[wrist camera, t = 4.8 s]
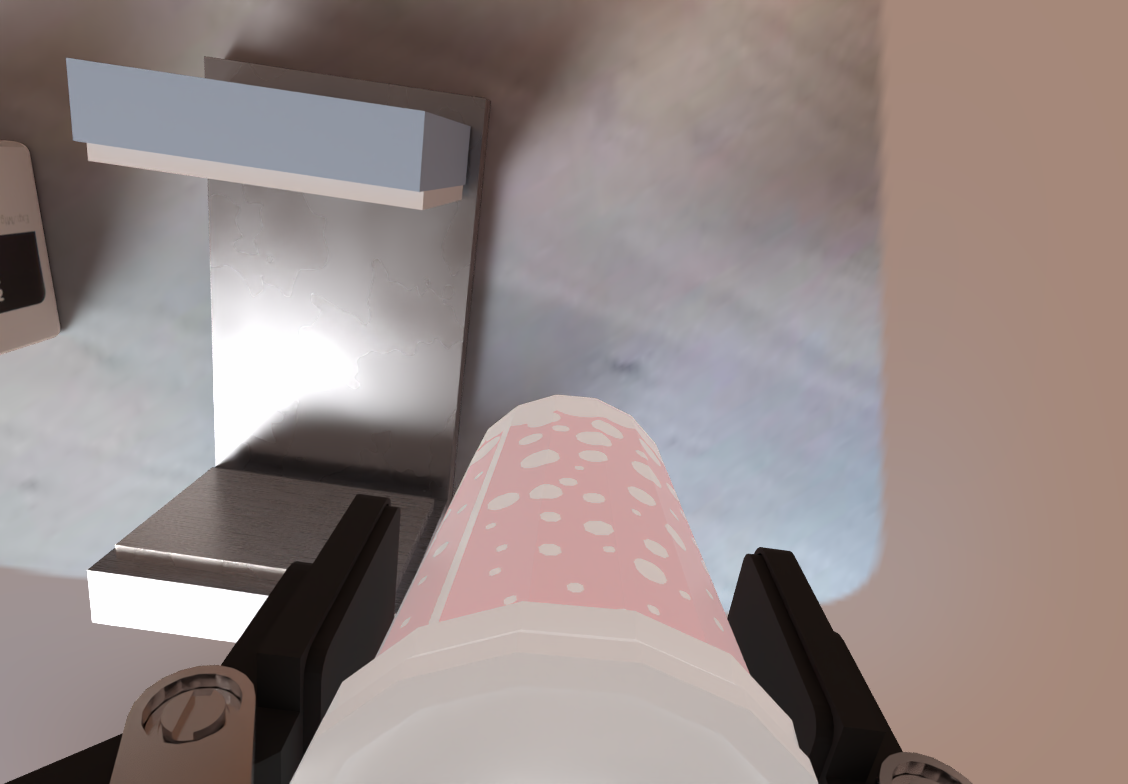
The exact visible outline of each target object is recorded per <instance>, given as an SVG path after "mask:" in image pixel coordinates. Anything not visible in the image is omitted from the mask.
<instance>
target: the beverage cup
mask: <svg viewBox="0 0 1128 784" xmlns="http://www.w3.org/2000/svg"><path fill="white" fill-rule="evenodd" d="M290 784H818V781H817V778H816V776H815V773H814V770H813V768H812V765H811V762H810V760H809V758H808V757H807V756H806V755H805V754H804V753H803V751H802V750H801V749H800V748H799V745H798V742H797V738H796V734H795V730H794V726H793V722H792V720H791V719H790V718H789V716H788V715H787V714H786V713H785V712H784V711H783V710H782V709H781V708H780V707H779V706H778V705H777V704H776V702H775V701H774V700H773V699H772V698H771V697H770V696H769V695H768V694H767V693H766V692H765V691H764V689H763V688H762V687H761V686H760V685H759V684H758V683H757V682H756V681H755V680H754V679H753V678H752V677H751V675H750V673H749V671H748V668H747V666H746V663H745V661H744V659H743V656H742V654H741V651H740V649H739V646H738V644H737V642H736V639H735V637H734V634H733V632H732V629H731V627H730V624H729V622H728V620H727V617H726V615H725V612H724V610H723V607H722V605H721V602H720V600H719V598H718V595H717V593H716V590H715V588H714V585H713V583H712V580H711V578H710V576H709V573H708V571H707V568H706V566H705V563H704V561H703V558H702V556H701V554H700V551H699V549H698V546H697V544H696V541H695V539H694V536H693V534H692V532H691V529H690V527H689V524H688V522H687V519H686V517H685V514H684V512H683V510H682V507H681V505H680V502H679V500H678V497H677V495H676V492H675V490H674V488H673V485H672V483H671V480H670V478H669V475H668V473H667V470H666V468H665V466H664V463H663V461H662V458H661V456H660V453H659V451H658V448H657V446H656V444H655V443H654V441H653V440H652V439H651V438H650V437H649V436H648V435H647V433H646V432H645V431H644V430H643V429H642V428H641V426H640V425H639V424H638V423H637V422H636V421H635V419H634V418H633V417H632V416H631V415H629V414H627V413H625V412H623V411H621V410H619V409H617V408H615V407H613V406H611V405H609V404H607V403H605V402H603V401H601V400H599V399H597V398H588V397H577V396H566V395H553V396H550V397H546V398H543V399H539V400H536V401H532V402H529V403H525V404H522V405H518V406H517V407H515V408H514V409H513V410H512V411H510V412H509V413H508V414H507V415H505V416H504V417H503V418H502V419H500V420H499V421H498V422H496V423H495V424H494V425H493V426H491V427H490V428H489V429H488V430H487V432H486V434H485V436H484V438H483V440H482V442H481V444H480V446H479V447H478V449H477V451H476V453H475V455H474V457H473V459H472V461H471V463H470V465H469V467H468V469H467V471H466V473H465V475H464V477H463V479H462V481H461V483H460V485H459V487H458V489H457V491H456V493H455V495H454V498H453V500H452V502H451V504H450V506H449V508H448V510H447V512H446V514H445V516H444V518H443V520H442V522H441V524H440V526H439V528H438V530H437V532H436V534H435V536H434V538H433V540H432V542H431V544H430V547H429V549H428V551H427V553H426V555H425V557H424V559H423V561H422V563H421V565H420V567H419V569H418V571H417V573H416V575H415V577H414V579H413V581H412V583H411V585H410V587H409V589H408V591H407V593H406V596H405V598H404V600H403V602H402V604H401V606H400V608H399V610H398V612H397V614H396V616H395V618H394V620H393V622H392V624H391V626H390V628H389V630H388V632H387V634H386V636H385V638H384V640H383V642H382V645H381V647H380V649H379V651H378V653H377V655H376V657H375V659H373V660H372V661H371V662H369V663H368V664H367V665H365V666H364V667H362V668H361V669H360V670H358V671H357V672H355V673H354V674H353V675H351V676H350V677H348V678H347V679H346V680H344V681H343V682H342V684H341V685H340V687H339V689H338V691H337V693H336V695H335V697H334V699H333V701H332V703H331V705H330V707H329V709H328V711H327V713H326V714H325V716H324V718H323V720H322V722H321V724H320V726H319V727H318V729H317V731H316V733H315V735H314V737H313V739H312V741H311V743H310V745H309V747H308V749H307V751H306V753H305V755H304V756H303V758H302V760H301V762H300V764H299V766H298V768H297V770H296V772H295V774H294V776H293V778H292V780H291V782H290Z"/></svg>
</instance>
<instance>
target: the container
mask: <svg viewBox="0 0 1128 784" xmlns="http://www.w3.org/2000/svg"><path fill="white" fill-rule="evenodd" d="M60 329H61V328H60V322H59V317H58V311H57V305H56V300H55V294H54V288H53V282H52V277H51V271H50V265H49V260H48V254H47V248H46V243H45V237H44V231H43V226H42V220H41V214H40V208H39V203H38V197H37V191H36V186H35V180H34V174H33V169H32V163H31V157H30V152H29V150H28V148H27V147H26V146H25V145H24V144H22V143H19V142H16V141H7V140H0V355H1V354H4V353H8V352H11V351H14V350H17V349H20V348H23V347H26V346H29V345H33V344H36V343H39V342H42V341H45V340H48V339H51V338H54V337H56V336H57V335H58V334H59V333H60Z"/></svg>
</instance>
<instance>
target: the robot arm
mask: <svg viewBox="0 0 1128 784" xmlns="http://www.w3.org/2000/svg"><path fill="white" fill-rule="evenodd" d="M400 518H401V510H400V507H393V506H391V501H390V498H388V497H380V496H373V495H365V494H357V495H356V496H355V498H354V499H353V501H352V502H351V504H350V505H349V507H348V509H347V510H346V512H345V513H344V515H343V517H342V518H341V520H340V521H339V523H338V524H337V526H336V528H335V529H334V531H333V532H332V534H331V535H330V537H329V539H328V540H327V542H326V543H325V545H324V546H323V548H322V550H321V551H320V553H319V554H318V556H317V558H316V559H315V561H314V562H313V563H307V562H299V561H296V562H293V563H292V564H291V565H290V566H289V567H288V568H287V570H286V571H285V573H284V574H283V576H282V577H281V578H280V580H279V581H278V583H277V584H276V586H275V587H274V589H273V590H272V592H271V593H270V594H269V596H268V597H267V599H266V600H265V602H264V603H263V605H262V606H261V608H260V609H259V610H258V612H257V613H256V615H255V616H254V618H253V619H252V621H251V622H250V624H249V625H248V626H247V628H246V629H245V631H244V632H243V634H242V635H241V637H240V638H239V640H238V641H237V643H236V644H235V646H234V647H233V648H232V650H231V651H230V653H229V654H228V656H227V657H226V659H225V660H224V662H223V663H222V664H221V666H219V665H209V666H208V665H207V666H197V667H193V668H188V669H184V670H180V671H178V672H176V673H173V674H171V675H169V676H166V677H164V678H162V679H161V680H159V681H158V682H156V683H155V684H153V685H152V686H150V687H149V688H147V689H146V690H145V691H144V693H142V695H141V696H140V697H139V698H138V699H137V700H136V701H135V702H134V704H133V706H132V708H131V710H130V712H129V714H128V716H127V720H126V723H125V727H124V731H123V733H122V734H120V735H118V736H116V737H113V738H111V739H108V740H106V741H104V742H101V743H99V744H97V745H94V746H92V747H89V748H87V749H85V750H82V751H80V752H78V753H75V754H73V755H71V756H68V757H66V758H64V759H61V760H59V761H56V762H54V763H52V764H49V765H47V766H45V767H42V768H40V769H38V770H35V771H33V772H31V773H28V774H26V775H24V776H21V777H19V778H16V779H14V780H12V781H9V782H7V783H5V784H290V782H291V780H292V778H293V776H294V774H295V772H296V770H297V768H298V766H299V764H300V762H301V760H302V758H303V756H304V755H305V753H306V751H307V749H308V747H309V745H310V743H311V741H312V739H313V737H314V735H315V733H316V731H317V729H318V727H319V726H320V724H321V722H322V720H323V718H324V716H325V714H326V713H327V711H328V709H329V707H330V705H331V703H332V701H333V699H334V697H335V695H336V693H337V691H338V689H339V687H340V685H341V684H342V682H343V681H344V680H346V679H347V678H348V677H350V676H351V675H353V674H354V673H355V672H357V671H358V670H360V669H361V668H362V667H364V666H365V665H367V664H368V663H369V662H371V661H372V660H373V659H375V657H376V655H377V653H378V651H379V649H380V647H381V645H382V642H383V640H384V638H385V636H386V634H387V632H388V630H389V628H390V626H391V624H392V622H393V620H394V611H395V596H396V580H397V565H398V549H399V533H400ZM727 620H728V622H729V624H730V627H731V629H732V632H733V634H734V637H735V639H736V642H737V644H738V646H739V649H740V651H741V654H742V656H743V659H744V661H745V663H746V666H747V668H748V671H749V673H750V675H751V677H752V678H753V679H754V680H755V681H756V682H757V683H758V684H759V685H760V686H761V687H762V688H763V689H764V691H765V692H766V693H767V694H768V695H769V696H770V697H771V698H772V699H773V700H774V701H775V702H776V704H777V705H778V706H779V707H780V708H781V709H782V710H783V711H784V712H785V713H786V714H787V715H788V716H789V718H790V719H791V720H792V722H793V726H794V730H795V734H796V738H797V742H798V745H799V748H800V749H801V750H802V751H803V753H804V754H805V755H806V756H807V757H808V758H809V760H810V762H811V765H812V768H813V770H814V773H815V776H816V778H817V781H818V784H972V783H971V782H970V781H969V780H968V779H967V778H966V777H964V776H963V775H962V774H960V773H959V772H957V771H956V770H955V769H953V768H952V767H950V766H948V765H946V764H944V763H942V762H940V761H938V760H936V759H934V758H932V757H929V756H925V755H922V754H918V753H910V752H903V751H902V749H901V748H900V746H899V744H898V742H897V740H896V738H895V736H894V734H893V733H892V731H891V729H890V727H889V725H888V723H887V721H886V719H885V717H884V716H883V714H882V712H881V710H880V708H879V706H878V704H877V702H876V701H875V699H874V697H873V695H872V693H871V691H870V689H869V687H868V685H867V684H866V682H865V680H864V678H863V676H862V674H861V672H860V670H859V669H858V667H857V665H856V663H855V661H854V659H853V657H852V655H851V653H850V652H849V650H848V648H847V646H846V644H845V642H844V640H843V639H842V638H841V636H840V635H839V634H838V633H836V632H834V631H833V629H832V627H831V625H830V623H829V622H828V620H827V618H826V616H825V614H824V612H823V610H822V608H821V606H820V604H819V602H818V600H817V598H816V596H815V595H814V593H813V591H812V589H811V587H810V585H809V583H808V581H807V579H806V577H805V575H804V573H803V572H802V570H801V568H800V566H799V564H798V562H797V560H796V558H795V556H794V555H793V553H792V552H790V551H785V550H778V549H770V548H763V547H759V548H757V550H756V551H755V553H754V554H747V555H746V556H745V557H744V560H743V563H742V567H741V571H740V574H739V578H738V582H737V585H736V589H735V593H734V596H733V600H732V604H731V607H730V611H729V615H728V618H727Z"/></svg>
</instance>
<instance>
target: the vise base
mask: <svg viewBox="0 0 1128 784" xmlns="http://www.w3.org/2000/svg"><path fill="white" fill-rule="evenodd" d="M204 63H205V78H206V79H213V80H219V81H226V82H233V83H239V84H246V85H253V86H259V87H266V88H273V89H280V90H286V91H293V92H300V93H306V94H313V95H320V96H326V97H333V98H340V99H347V100H353V101H360V102H367V103H373V104H380V105H387V106H393V107H400V108H407V109H413V110H420V111H426V112H429V113H432V114H435V115H438V116H441V117H444V118H447V119H450V120H453V121H456V122H459V123H462V124H465V125H468V126H471V128H470V139H469V150H468V161H467V173H466V184H465V185H463V190H462V200H459V201H455V202H451V203H447V204H444V205H440V206H436V207H432V208H429V209H425V210H418V209H411V208H405V207H398V206H391V205H384V204H378V203H371V202H364V201H357V200H351V199H344V198H337V197H330V196H323V195H317V194H310V193H303V192H296V191H290V190H283V189H276V188H269V187H263V186H256V185H249V184H242V183H236V182H229V181H222V180H215V179H208V207H209V242H210V278H211V314H212V350H213V385H214V421H215V457H216V467H215V468H214V467H212V468H211V469H210V470H208V471H207V472H206V473H205V474H203V475H202V476H201V477H200V478H198V479H197V480H196V481H195V482H193V483H192V484H191V485H190V486H188V487H187V488H186V489H185V490H183V491H182V492H181V493H180V494H178V495H177V496H176V497H175V498H173V499H172V500H171V501H170V502H168V503H167V504H166V505H165V506H163V507H162V508H161V509H160V510H158V511H157V512H156V513H155V514H153V515H152V516H151V517H150V518H148V519H147V520H146V521H145V522H143V523H142V524H141V525H140V526H138V527H137V528H136V529H135V530H133V531H132V532H131V533H130V534H128V535H127V536H126V537H125V538H123V539H122V540H121V541H120V542H118V543H117V544H116V545H115V548H114V549H113V550H111V551H110V552H109V553H108V554H107V555H105V556H104V557H103V558H102V559H100V560H99V561H98V562H97V563H95V564H94V565H93V566H92V567H90V568H89V569H88V570H87V574H88V584H89V594H90V604H91V614H92V622H95V623H102V624H108V625H116V626H123V627H130V628H137V629H144V630H151V631H158V632H165V633H173V634H179V635H187V636H194V637H201V638H208V639H215V640H222V641H229V642H236V643H237V641H238V640H239V638H240V637H241V635H242V634H243V632H244V631H245V629H246V628H247V626H248V625H249V624H250V622H251V621H252V619H253V618H254V616H255V615H256V613H257V612H258V610H259V609H260V608H261V606H262V605H263V603H264V602H265V600H266V599H267V597H268V596H269V594H270V593H271V592H272V590H273V589H274V587H275V586H276V584H277V583H278V581H279V580H280V578H281V577H282V576H283V574H284V573H285V571H286V570H287V568H288V567H289V566H290V565H291V564H292V563H293V562H296V561H299V562H307V563H313V562H314V561H315V559H316V558H317V556H318V554H319V553H320V551H321V550H322V548H323V546H324V545H325V543H326V542H327V540H328V539H329V537H330V535H331V534H332V532H333V531H334V529H335V528H336V526H337V524H338V523H339V521H340V520H341V518H342V517H343V515H344V513H345V512H346V510H347V509H348V507H349V505H350V504H351V502H352V501H353V499H354V498H355V496H356V495H357V494H365V495H373V496H380V497H388V498H390V501H391V506H393V507H400V510H401V518H400V533H399V549H398V565H397V580H396V596H395V611H394V618H395V616H396V614H397V612H398V610H399V608H400V606H401V604H402V602H403V600H404V598H405V596H406V593H407V591H408V589H409V587H410V585H411V583H412V581H413V579H414V577H415V575H416V573H417V571H418V569H419V567H420V565H421V563H422V561H423V559H424V557H425V555H426V553H427V551H428V549H429V547H430V544H431V542H432V540H433V538H434V536H435V534H436V532H437V530H438V528H439V526H440V524H441V522H442V520H443V518H444V516H445V514H446V512H447V510H448V508H449V506H450V504H451V502H452V493H453V483H454V472H455V462H456V452H457V442H458V431H459V421H460V411H461V401H462V390H463V380H464V370H465V360H466V349H467V339H468V329H469V319H470V308H471V298H472V288H473V278H474V268H475V257H476V247H477V237H478V227H479V216H480V206H481V196H482V186H483V175H484V165H485V155H486V145H487V134H488V124H489V114H490V104H491V101H489V100H488V99H486V98H480V97H473V96H466V95H460V94H453V93H446V92H440V91H433V90H426V89H420V88H413V87H406V86H400V85H393V84H386V83H380V82H373V81H366V80H359V79H353V78H346V77H339V76H333V75H326V74H319V73H313V72H306V71H299V70H293V69H286V68H279V67H273V66H266V65H259V64H253V63H246V62H239V61H233V60H226V59H219V58H213V57H206V56H204Z"/></svg>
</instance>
